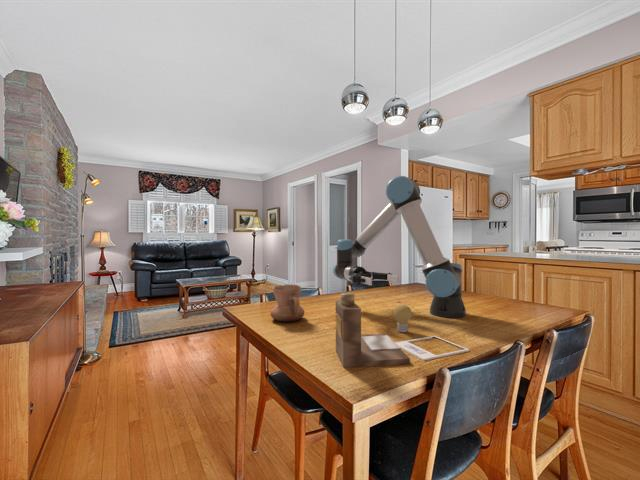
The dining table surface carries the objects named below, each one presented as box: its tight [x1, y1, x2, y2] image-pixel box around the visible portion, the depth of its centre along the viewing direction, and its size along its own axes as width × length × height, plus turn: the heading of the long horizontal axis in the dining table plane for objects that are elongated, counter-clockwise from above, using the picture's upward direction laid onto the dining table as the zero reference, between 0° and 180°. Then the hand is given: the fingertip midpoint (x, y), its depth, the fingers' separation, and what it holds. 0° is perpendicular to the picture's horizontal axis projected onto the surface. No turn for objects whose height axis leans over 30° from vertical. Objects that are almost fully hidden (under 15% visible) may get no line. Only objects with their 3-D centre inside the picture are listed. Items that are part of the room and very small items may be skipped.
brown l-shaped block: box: [335, 292, 411, 369], centre depth 97 cm, size 19×22×19 cm
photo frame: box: [395, 335, 470, 362], centre depth 100 cm, size 15×1×18 cm
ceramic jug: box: [269, 283, 305, 323], centre depth 133 cm, size 18×14×14 cm
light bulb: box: [393, 304, 413, 333], centre depth 117 cm, size 6×6×10 cm
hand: (385, 280), depth 125 cm, fingers open, 13 cm apart
